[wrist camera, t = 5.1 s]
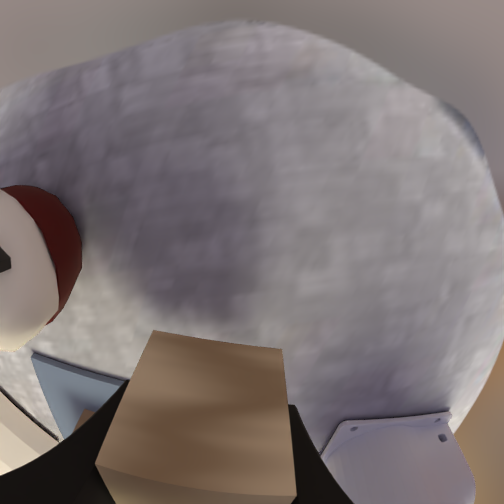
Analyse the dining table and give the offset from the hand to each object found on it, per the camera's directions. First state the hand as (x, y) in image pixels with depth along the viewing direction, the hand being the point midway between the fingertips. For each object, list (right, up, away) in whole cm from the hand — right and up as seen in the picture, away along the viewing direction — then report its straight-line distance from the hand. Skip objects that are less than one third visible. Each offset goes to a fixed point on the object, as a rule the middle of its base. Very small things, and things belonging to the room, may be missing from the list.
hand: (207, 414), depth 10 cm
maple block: (0, +1, +1) cm, 1 cm away
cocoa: (-8, +6, +4) cm, 11 cm away
